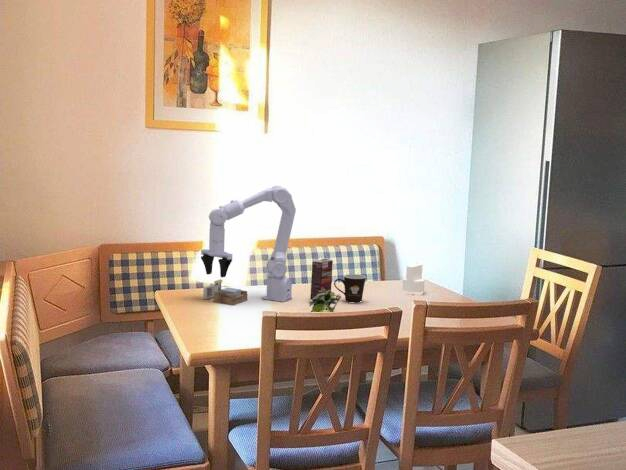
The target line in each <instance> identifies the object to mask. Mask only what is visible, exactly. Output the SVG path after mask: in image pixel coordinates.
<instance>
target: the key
mask: <svg viewBox="0 0 626 470" xmlns="http://www.w3.org/2000/svg"><path fill="white" fill-rule="evenodd" d="M222 282H223V279H221V278H220V279H217V280H214V281H213V283H214V284H211V285H207V286H205V287H203V291H202V294H203V296H202V297H203V298H202V299H203V300H209V299H211V298H214V292H221V290H222Z"/></svg>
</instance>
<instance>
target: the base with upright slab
mask: <svg viewBox="0 0 626 470" xmlns="http://www.w3.org/2000/svg"><path fill="white" fill-rule="evenodd" d="M402 279H403V280H402V289H403V290H404V291H408V292H422V291H424V292H425V278H423V263H414V264H413V263H412V264H408V265H407V266H406V275H405V277H402Z"/></svg>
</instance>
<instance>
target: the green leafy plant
mask: <svg viewBox="0 0 626 470" xmlns="http://www.w3.org/2000/svg"><path fill="white" fill-rule="evenodd" d="M317 294H318V295H317V296H315V298H313V299H312V301H309V302H308V304H309V307H311V306H312V307H311V308H312V309H311V311H310V312H322V313H323V312H325V311H328V312H329V313H330V312H334V311H335V309H336V306H337V305H338V303H339V301H340V300H341V298H342V296H341V294H338V293H337V294H335V291H332V289H331V290H328V291H327V290H324V289H322V290H321V291H319V290H318V291H317ZM331 305H334V306H333V307H331Z"/></svg>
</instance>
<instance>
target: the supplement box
mask: <svg viewBox="0 0 626 470" xmlns="http://www.w3.org/2000/svg"><path fill="white" fill-rule="evenodd" d="M333 263H334V261H333V259H326V258H322V259H318V260H312V263H311V264H312V265H311V282H310V296H309V297H310V298H309V301H310V300H312V299H313V298H315V296H317V295H318V294H317V291H318V290H319V291H321V290H322V289H324V290H327V291H328V290H331V291H332V281H333V280H332V278H333Z"/></svg>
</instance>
